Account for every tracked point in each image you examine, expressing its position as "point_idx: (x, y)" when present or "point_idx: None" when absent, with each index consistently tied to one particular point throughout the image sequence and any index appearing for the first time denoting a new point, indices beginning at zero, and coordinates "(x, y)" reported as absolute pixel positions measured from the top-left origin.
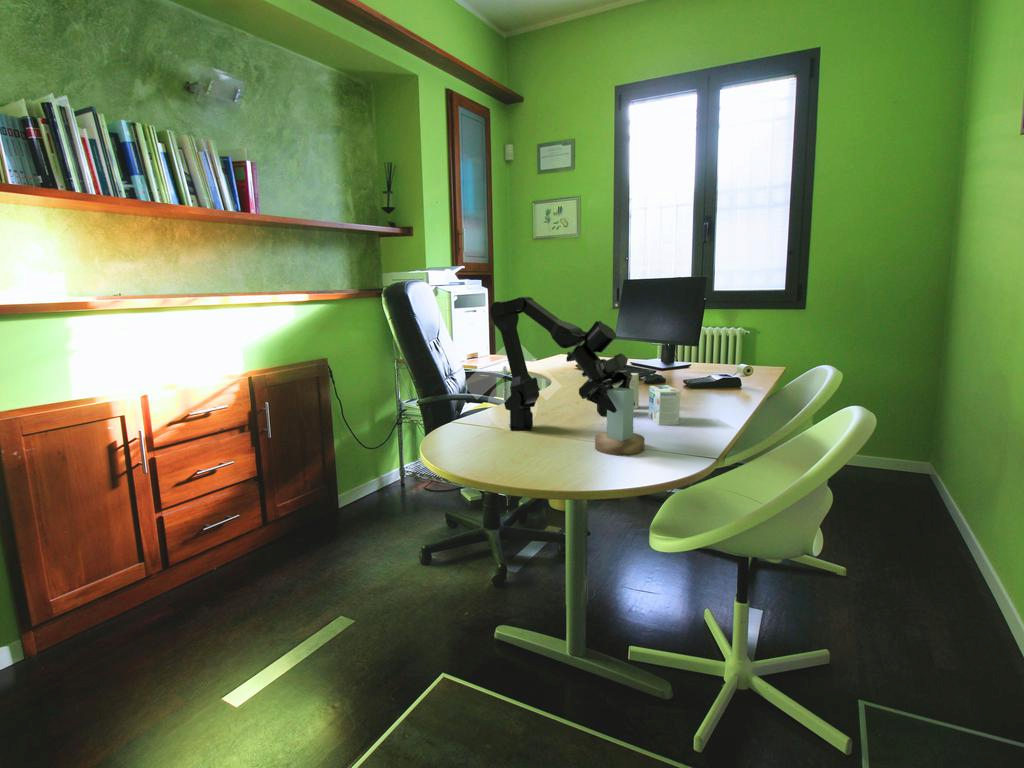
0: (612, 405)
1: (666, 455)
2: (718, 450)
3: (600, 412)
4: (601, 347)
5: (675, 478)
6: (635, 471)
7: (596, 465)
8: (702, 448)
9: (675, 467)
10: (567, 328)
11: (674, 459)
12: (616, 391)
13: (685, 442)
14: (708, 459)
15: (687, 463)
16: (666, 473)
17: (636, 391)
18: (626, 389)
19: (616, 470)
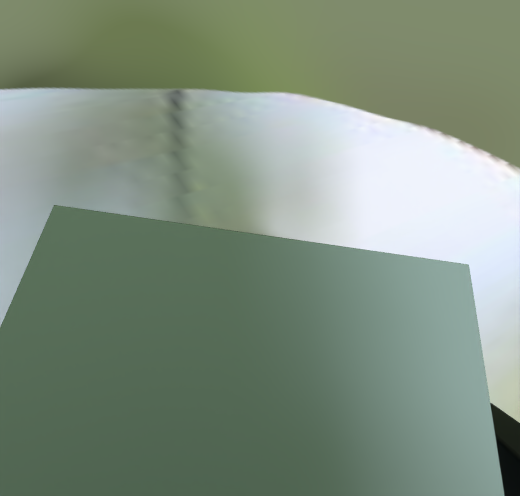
0: (495, 407)
1: (222, 200)
2: (82, 93)
3: None
4: None
5: (404, 125)
6: (436, 223)
7: (490, 360)
8: (78, 132)
9: (323, 147)
10: None
11: (251, 168)
12: (495, 479)
13: (14, 194)
14: (195, 97)
15: (266, 131)
16: (386, 151)
17: None
18: (122, 355)
19: (474, 274)
